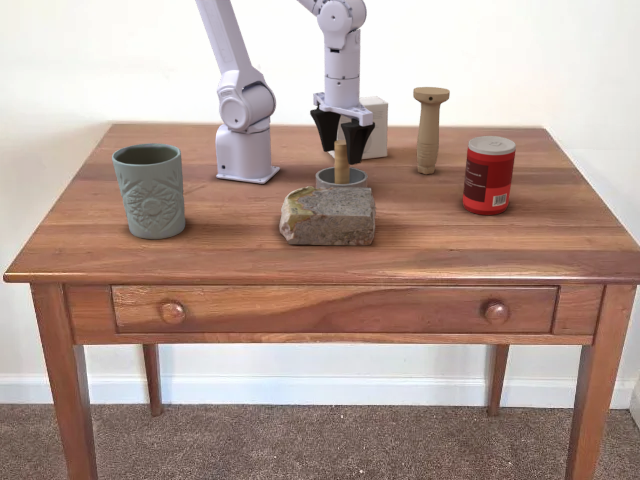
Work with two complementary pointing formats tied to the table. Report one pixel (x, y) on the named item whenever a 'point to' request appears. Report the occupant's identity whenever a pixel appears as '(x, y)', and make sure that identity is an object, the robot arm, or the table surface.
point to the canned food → (488, 174)
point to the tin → (328, 180)
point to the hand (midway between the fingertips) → (341, 157)
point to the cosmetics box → (378, 137)
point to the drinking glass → (151, 189)
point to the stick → (341, 163)
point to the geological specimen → (328, 216)
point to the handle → (429, 126)
